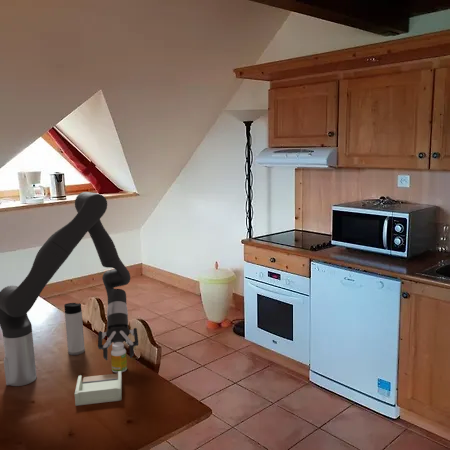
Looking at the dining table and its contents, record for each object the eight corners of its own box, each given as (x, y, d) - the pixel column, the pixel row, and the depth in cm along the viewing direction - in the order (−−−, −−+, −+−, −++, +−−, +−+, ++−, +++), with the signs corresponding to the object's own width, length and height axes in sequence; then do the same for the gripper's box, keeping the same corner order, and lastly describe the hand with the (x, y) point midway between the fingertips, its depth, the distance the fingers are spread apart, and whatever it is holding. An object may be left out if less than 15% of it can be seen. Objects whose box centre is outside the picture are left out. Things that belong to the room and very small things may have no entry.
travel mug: (64, 354, 187) (59, 305, 183) (75, 347, 193) (71, 299, 189) (77, 356, 184) (73, 306, 181) (88, 349, 190) (84, 301, 187)
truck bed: (75, 405, 150) (74, 393, 149) (80, 379, 167) (80, 368, 166) (121, 400, 153) (120, 388, 152) (122, 375, 169) (121, 364, 168)
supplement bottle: (123, 373, 170) (121, 347, 168) (109, 372, 171) (107, 346, 170) (129, 366, 175) (128, 341, 174) (115, 365, 176) (114, 340, 175)
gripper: (97, 313, 176) (97, 356, 167) (136, 310, 179) (138, 352, 170) (98, 322, 182) (99, 364, 173) (137, 318, 185) (139, 359, 176)
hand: (118, 358), depth 171 cm, fingers open, 8 cm apart
